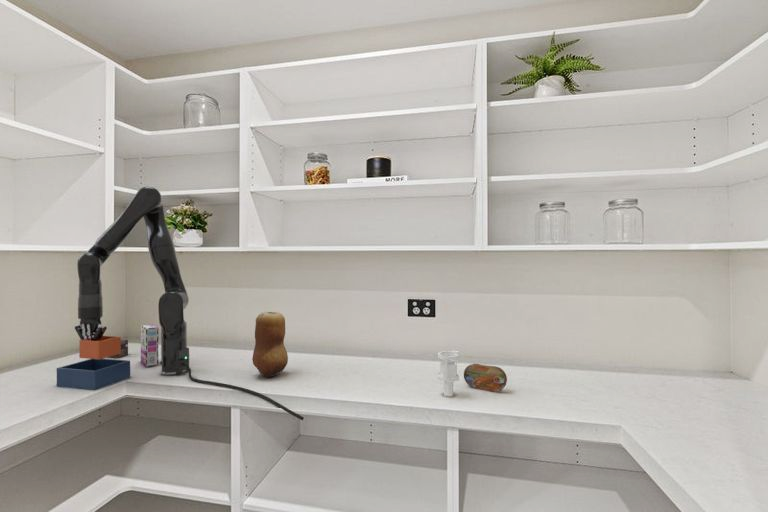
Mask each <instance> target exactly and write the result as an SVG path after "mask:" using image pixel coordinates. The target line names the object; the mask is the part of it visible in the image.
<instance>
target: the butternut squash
mask: <svg viewBox="0 0 768 512" xmlns="http://www.w3.org/2000/svg"><path fill="white" fill-rule="evenodd" d="M254 327H255V328H254V341H255V343H254V348H253V353H252V365H253V367H255V368H256V369H257V370H258V372H259V374H260V375H262V376H263V377H264V378H266V379H269V378H272V377H274V376H276V375H278V374H280V373H282V372H283V371H284V370H285V368H286V367H287V365H288V362H289V355H288V351H287V349H286V346H285V343H284V342H285V341H284V340H285V337H286V318H285V316H284V315H283V314H282V313H280V312H278V311H261V312H260V313H259V314H258V315H257V317H256V318H255V325H254Z"/></svg>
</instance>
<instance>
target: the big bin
mask: <svg viewBox="0 0 768 512" xmlns="http://www.w3.org/2000/svg"><path fill="white" fill-rule="evenodd" d="M127 379H131V360H129V359H127V360H126V359H116V358H103V359H99V360H98V359H85V360H82V361H78V362H75V363H70V364H67V365H66V364H65V365H63V366H59V367H56V387H61V388H72V389H79V390H80V389H82V390H91V391H97V390H99V389H101V388H105V387H108V386H111V385H113V384H116V383H120V382H122V381H125V380H127Z"/></svg>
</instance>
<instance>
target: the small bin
mask: <svg viewBox="0 0 768 512" xmlns="http://www.w3.org/2000/svg"><path fill="white" fill-rule="evenodd" d="M121 338H122V337H121V336H116V335H115V336H114V335H103V336H102V337H101V339H99V340H97V341H89V338H88V339H83V340H81V339H80V340H79V342H78V343H79V345H78V346H79V347H78V348H79V349H78V350H79V352H78V353H79V359H86V360H88V359H98V360H99V359H107V358H109V357H110V356H114V355H117V354H121V340H122V339H121Z"/></svg>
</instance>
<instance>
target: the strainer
mask: <svg viewBox="0 0 768 512" xmlns="http://www.w3.org/2000/svg"><path fill="white" fill-rule="evenodd" d="M437 358H438V359H440V361H439V373H438V374H437V379H438V380H439V381H442V382H443V395H444V396H445V397H453V396H454V382H458V381H460V375H459V373H458V364H457V363H459V362H460V350H450V351H448V350H444V351H439V352H437Z"/></svg>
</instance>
